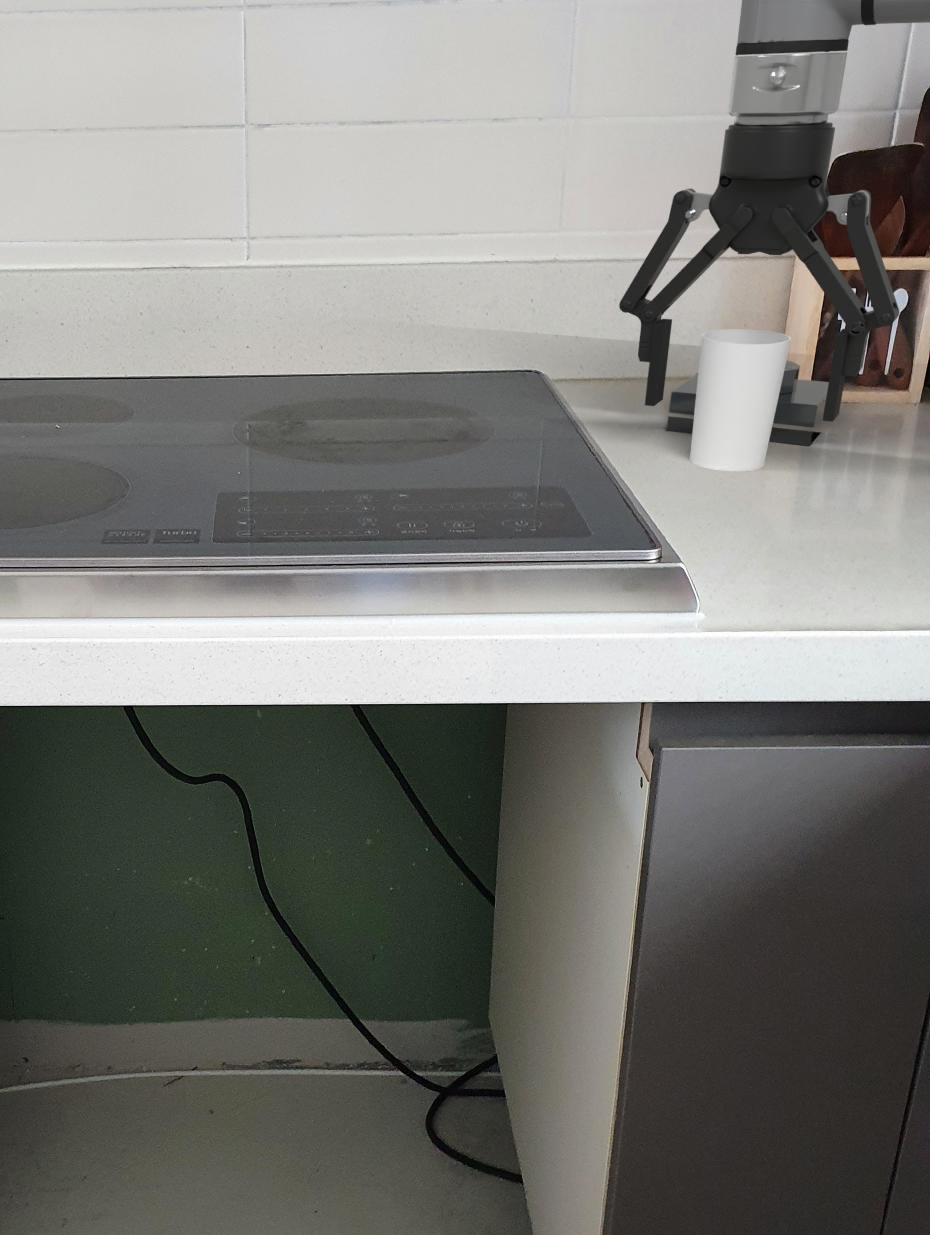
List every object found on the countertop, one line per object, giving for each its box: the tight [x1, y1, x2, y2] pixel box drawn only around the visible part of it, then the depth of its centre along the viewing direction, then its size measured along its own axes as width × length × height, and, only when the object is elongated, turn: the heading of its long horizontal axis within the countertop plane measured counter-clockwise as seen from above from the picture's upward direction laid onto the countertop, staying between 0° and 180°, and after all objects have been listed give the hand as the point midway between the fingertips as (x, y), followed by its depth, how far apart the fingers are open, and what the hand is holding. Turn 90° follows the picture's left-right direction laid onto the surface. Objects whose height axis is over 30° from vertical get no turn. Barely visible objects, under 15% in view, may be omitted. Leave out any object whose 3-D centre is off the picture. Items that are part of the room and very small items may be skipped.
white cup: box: [689, 328, 792, 472], centre depth 108 cm, size 7×7×10 cm
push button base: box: [665, 360, 829, 447], centre depth 119 cm, size 12×10×6 cm
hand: (739, 410), depth 108 cm, fingers open, 13 cm apart
